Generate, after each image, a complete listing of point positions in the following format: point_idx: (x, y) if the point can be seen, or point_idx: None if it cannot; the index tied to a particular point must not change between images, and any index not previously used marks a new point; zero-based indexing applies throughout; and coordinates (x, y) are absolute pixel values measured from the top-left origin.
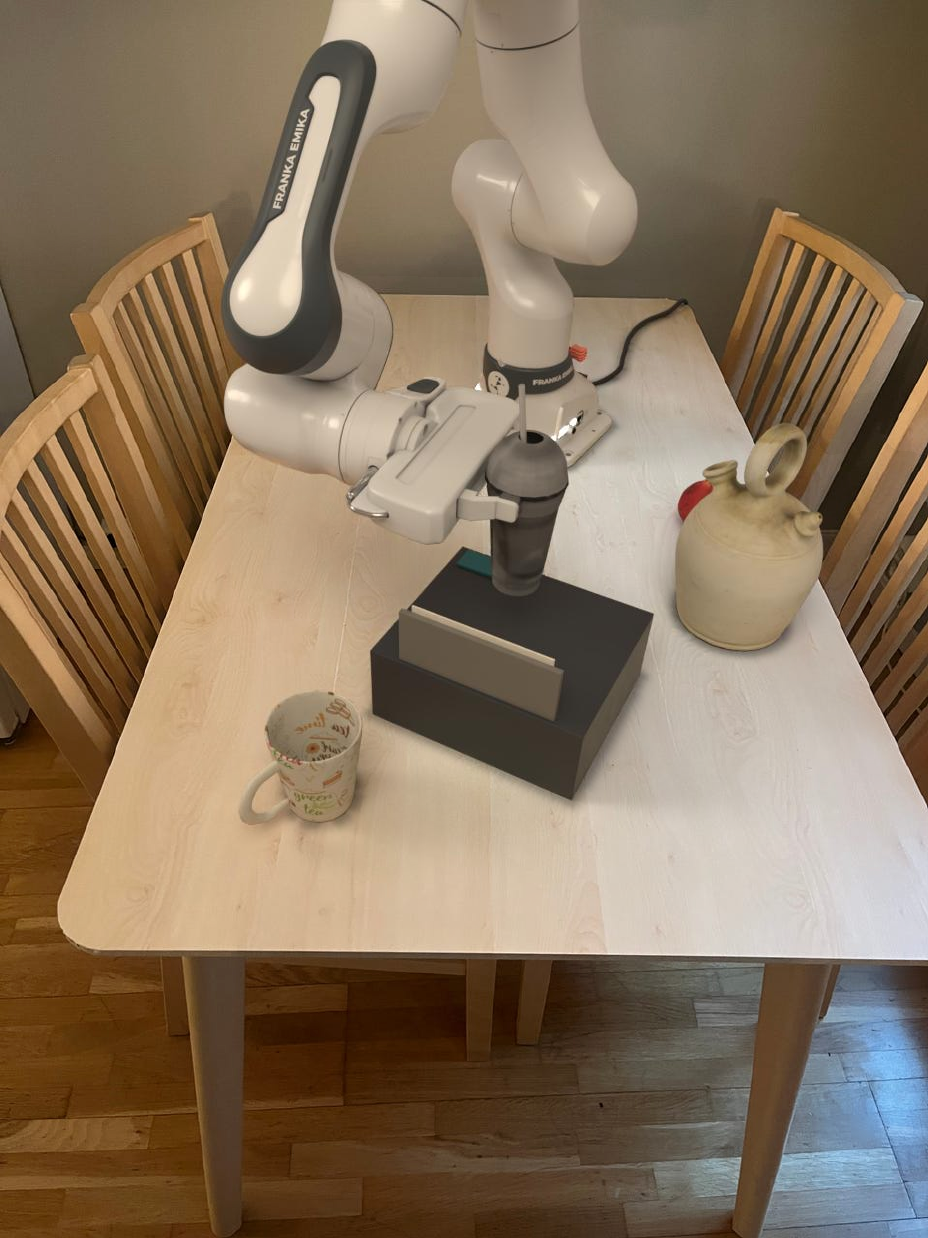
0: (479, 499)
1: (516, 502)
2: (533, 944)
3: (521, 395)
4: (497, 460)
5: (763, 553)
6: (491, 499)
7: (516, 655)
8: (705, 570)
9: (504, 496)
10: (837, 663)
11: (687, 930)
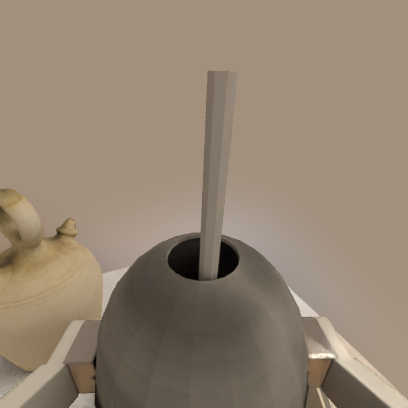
0: (404, 401)
1: (311, 318)
2: (379, 374)
3: (232, 120)
4: (292, 360)
5: (83, 257)
6: (364, 369)
7: (323, 394)
8: (78, 303)
9: (321, 346)
10: (105, 276)
11: (300, 306)
